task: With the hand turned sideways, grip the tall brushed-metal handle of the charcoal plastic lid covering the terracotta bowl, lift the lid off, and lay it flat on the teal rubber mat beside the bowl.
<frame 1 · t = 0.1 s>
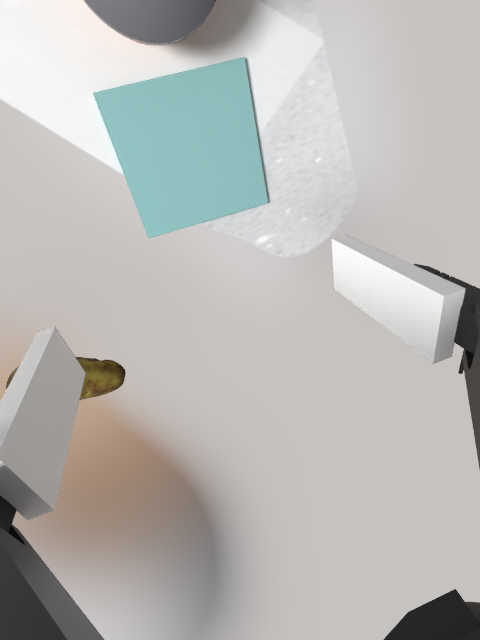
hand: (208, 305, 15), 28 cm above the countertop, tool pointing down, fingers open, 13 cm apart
mat: (192, 155, 36), on the countertop
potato: (75, 363, 45), on the countertop
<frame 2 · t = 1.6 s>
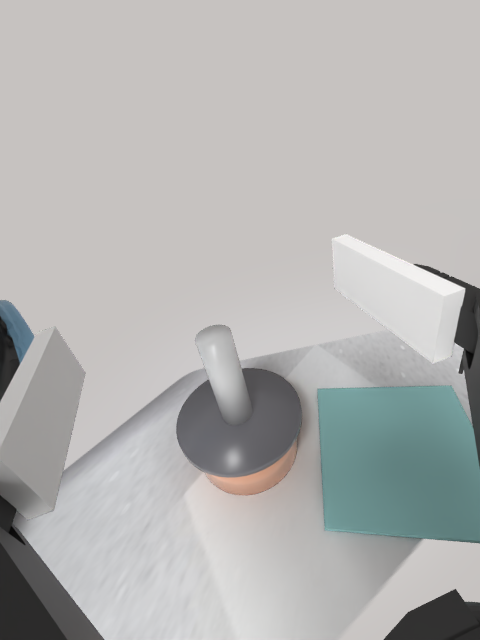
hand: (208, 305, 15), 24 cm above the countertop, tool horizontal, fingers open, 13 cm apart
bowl: (248, 445, 36), on the countertop
mat: (396, 448, 32), on the countertop
lid: (238, 417, 33), point 5 cm above the countertop, touching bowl
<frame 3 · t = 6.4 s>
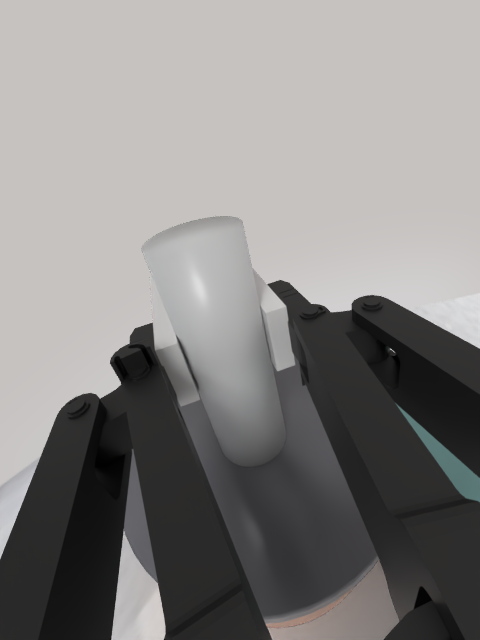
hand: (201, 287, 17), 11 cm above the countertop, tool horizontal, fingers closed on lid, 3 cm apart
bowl: (271, 497, 18), on the countertop
lid: (255, 445, 15), point 5 cm above the countertop, touching gripper
when the fingers open (8 cm above the countertop, at t = 12.1 s): lid drops 2 cm, resting on mat.
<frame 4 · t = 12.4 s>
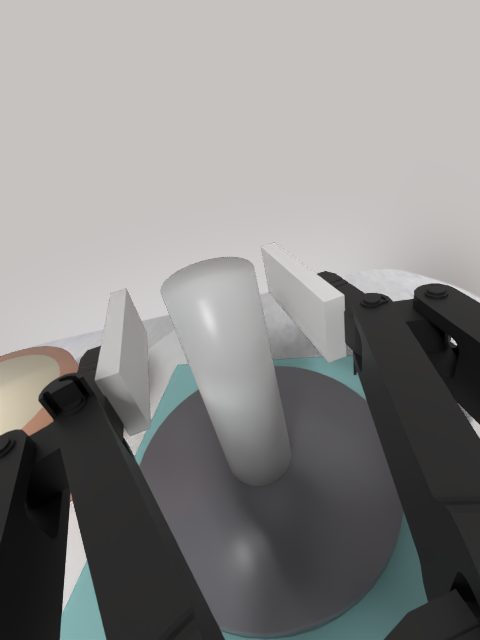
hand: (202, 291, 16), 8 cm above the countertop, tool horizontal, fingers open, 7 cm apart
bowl: (26, 460, 20), on the countertop
mat: (262, 467, 16), on the countertop
lid: (262, 463, 16), resting on mat
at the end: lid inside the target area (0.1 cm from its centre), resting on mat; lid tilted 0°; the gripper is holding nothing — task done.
